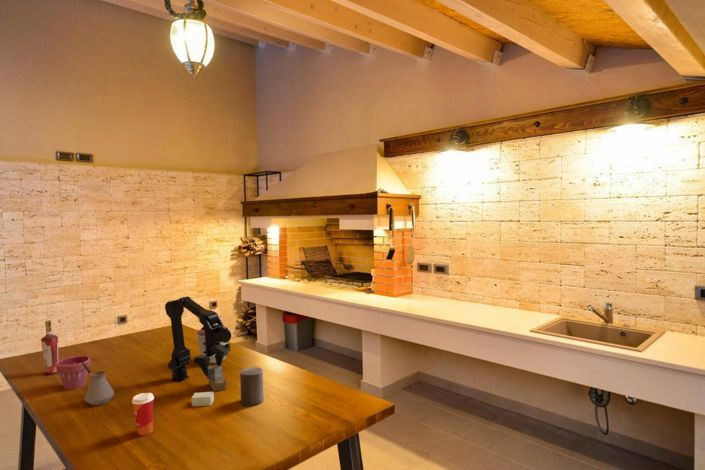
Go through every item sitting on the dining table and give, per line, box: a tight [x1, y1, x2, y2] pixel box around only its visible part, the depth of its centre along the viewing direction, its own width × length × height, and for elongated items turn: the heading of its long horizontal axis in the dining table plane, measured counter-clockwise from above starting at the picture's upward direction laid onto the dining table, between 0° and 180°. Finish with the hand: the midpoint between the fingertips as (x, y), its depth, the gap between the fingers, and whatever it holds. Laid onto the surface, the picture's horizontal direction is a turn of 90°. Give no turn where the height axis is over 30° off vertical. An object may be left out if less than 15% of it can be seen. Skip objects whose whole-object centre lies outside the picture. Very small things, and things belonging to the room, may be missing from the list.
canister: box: [195, 324, 231, 365], centre depth 244 cm, size 18×18×21 cm
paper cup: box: [131, 392, 155, 437], centre depth 168 cm, size 8×8×14 cm
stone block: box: [208, 375, 227, 392], centre depth 208 cm, size 6×12×5 cm, turn 32°
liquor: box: [40, 319, 59, 375], centre depth 233 cm, size 7×7×28 cm
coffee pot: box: [80, 363, 115, 406], centre depth 199 cm, size 21×12×15 cm, turn 53°
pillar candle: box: [239, 366, 265, 407], centre depth 191 cm, size 10×10×15 cm
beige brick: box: [191, 391, 215, 407], centre depth 191 cm, size 8×5×4 cm, turn 93°
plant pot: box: [56, 355, 92, 391], centre depth 214 cm, size 14×14×13 cm
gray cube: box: [206, 364, 223, 381], centre depth 207 cm, size 5×5×5 cm
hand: (213, 372), depth 207 cm, fingers open, 9 cm apart
